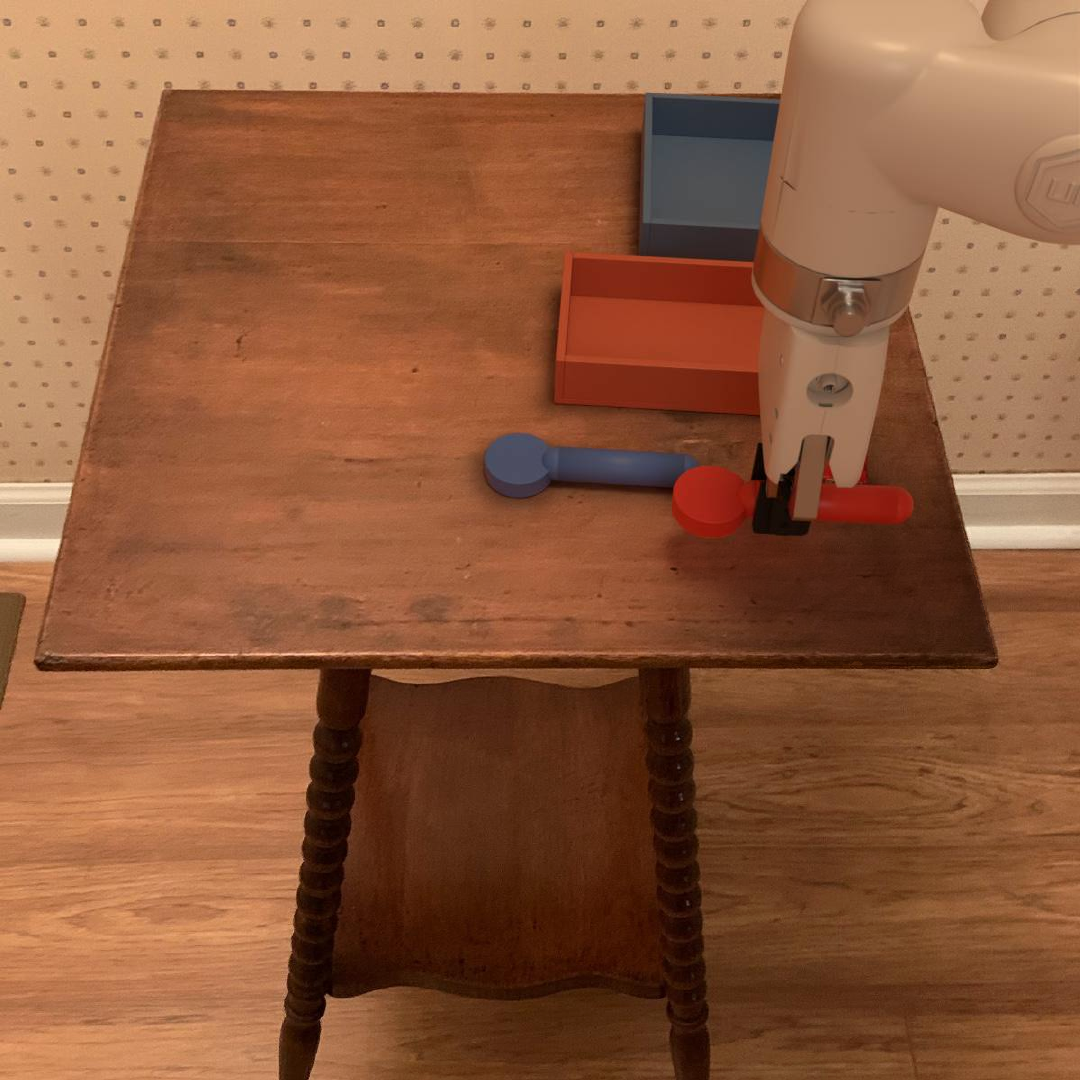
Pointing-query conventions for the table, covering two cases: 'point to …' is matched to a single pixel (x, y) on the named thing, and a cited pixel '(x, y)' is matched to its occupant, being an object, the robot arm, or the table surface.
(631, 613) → the table surface
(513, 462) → the blue spoon
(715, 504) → the red spoon
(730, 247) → the blue bin
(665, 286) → the red bin
